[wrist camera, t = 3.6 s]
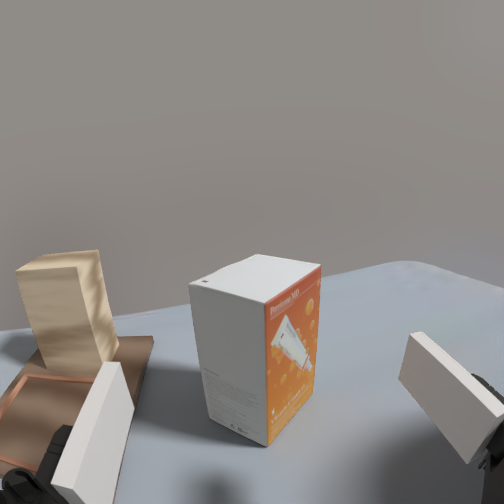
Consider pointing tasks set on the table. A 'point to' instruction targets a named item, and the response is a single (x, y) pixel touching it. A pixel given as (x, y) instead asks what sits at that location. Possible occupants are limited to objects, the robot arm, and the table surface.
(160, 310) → the table surface
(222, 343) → the small box
